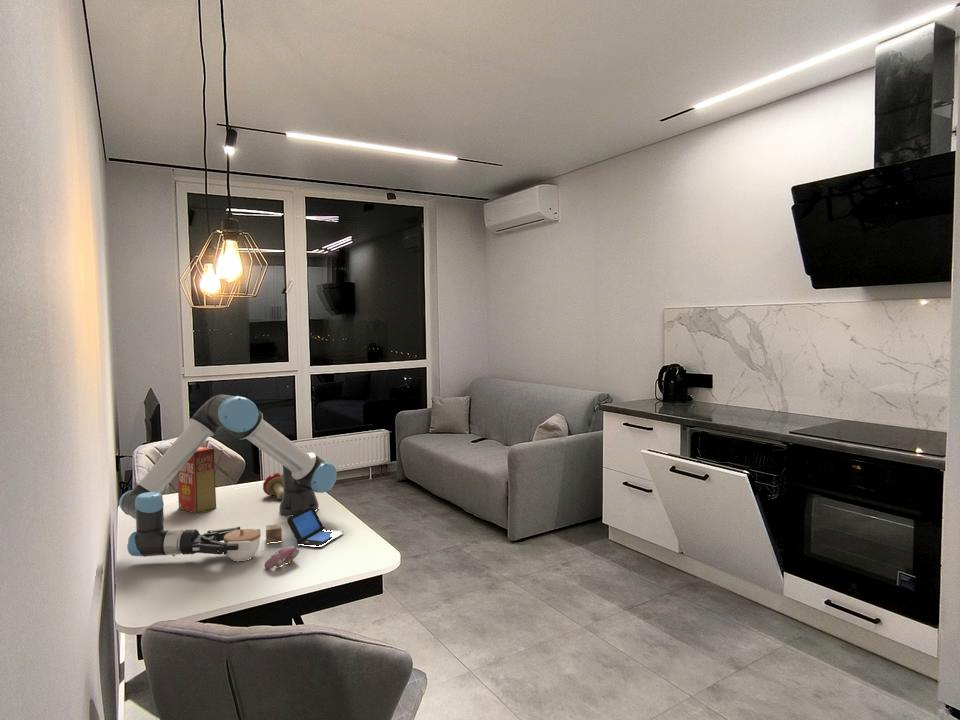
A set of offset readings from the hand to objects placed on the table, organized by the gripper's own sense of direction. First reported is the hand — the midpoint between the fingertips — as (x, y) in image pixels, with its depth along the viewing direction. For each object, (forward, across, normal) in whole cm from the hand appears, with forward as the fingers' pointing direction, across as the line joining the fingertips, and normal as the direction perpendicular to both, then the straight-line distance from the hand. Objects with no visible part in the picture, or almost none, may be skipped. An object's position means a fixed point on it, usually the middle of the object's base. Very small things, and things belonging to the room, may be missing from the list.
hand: (255, 539), depth 187 cm
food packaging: (-39, -58, -6) cm, 70 cm away
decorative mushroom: (-11, -70, -6) cm, 72 cm away
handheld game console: (+16, -15, -7) cm, 23 cm away
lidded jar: (-4, 0, -6) cm, 8 cm away
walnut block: (+2, -15, -6) cm, 16 cm away
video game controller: (+10, +7, -6) cm, 14 cm away
